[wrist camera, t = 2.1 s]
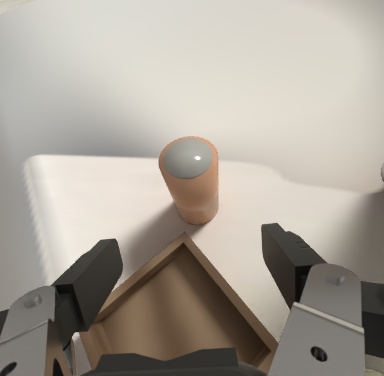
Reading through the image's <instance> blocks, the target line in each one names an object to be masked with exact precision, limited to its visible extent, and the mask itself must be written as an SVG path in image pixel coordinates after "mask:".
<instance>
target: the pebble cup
mask: <svg viewBox="0 0 384 376" xmlns="http://www.w3.org/2000/svg"><path fill="white" fill-rule="evenodd" d="M159 168H160V171H161V173H162V176H163V178H164V180H165V182H166V185H167V187H168V189H169V191H170V194H171V196H172V198H173V201H174V203H175V205H176V207H177V210H178V212H179V214H180V216H181V217H182V219H183V220H185V221H186V222H188V223H190V224H195V225H200V224H205V223H207V222H209V221H210V220H212V219H213V218H214V217H215V215H216V214H217V211H218V206H219V202H218V152H217V150H216V148H215V147H214V145H213V144H212V143H211V142H209V141H208V140H205V139H203V138H200V137H184V138H180V139H177V140H175V141H173V142H171V143H170V144H168V145H167V146H166V147H165V148H164V149H163V151H162V152H161V154H160V157H159Z"/></svg>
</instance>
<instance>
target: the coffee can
mask: <svg viewBox="0 0 384 376" xmlns="http://www.w3.org/2000/svg"><path fill="white" fill-rule="evenodd" d="M365 376H384V374H383V373H381V372H378V371H375V370H372V369H368V368H365Z"/></svg>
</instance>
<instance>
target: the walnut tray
mask: <svg viewBox="0 0 384 376" xmlns="http://www.w3.org/2000/svg"><path fill="white" fill-rule="evenodd" d="M79 334H80V337H81V340H82V342H83V345H84V348H85V351H86V353H87V356H88V359H89V362H90V364H91V367H92V370H94V369H95V368H96V366H97V364H98V362H99V359H100V357H101V355H102V354H120V353H136V354H140V355H144V356H147V357H151V358H155V359H158V360H162V361H167V360H171V359H174V358H177V357H180V356H183V355H186V354H189V353H192V352H195V351H198V350H200V349H214V348H233V347H236V353H237V359H238V361H240V362H244V363H247V364H249V365H252V366H254V367H256V368H258V369H260V370H262V371H263V372H265V373H266V374H268V373H269V370H270V367H271V364H272V362H273V359H274V356H275V353H276V350H277V348H278V345H279V344H278V342H277V341H276V340H275V339H274V338H273V336H272V335H271V334H270V333H269V332H268V331H267V329H266V328H265V327H264V326H263V325H262V323H261V322H260V321H259V320H258V319H257V317H256V316H255V315H254V314H253V313H252V311H251V310H250V309H249V308H248V307H247V305H246V304H245V303H244V302H243V301H242V299H241V298H240V297H239V296H238V295H237V294H236V292H235V291H234V290H233V289H232V288H231V286H230V285H229V284H228V283H227V282H226V280H225V279H224V278H223V277H222V276H221V274H220V273H219V272H218V271H217V270H216V268H215V267H214V266H213V265H212V264H211V262H210V261H209V260H208V259H207V258H206V257H205V255H204V254H203V253H202V252H201V251H200V249H199V248H198V247H197V246H196V245H195V243H194V242H193V241H192V240H191V239H190V237H189V236H188V235H187V234H186V233H185V232H184V233H183V234H181V235H180V236H179V237H178V238H177V239H175V240H174V241H173V242H172V243H171V244H169V245H168V246H167V247H166V248H165V249H163V250H162V251H161V252H160V253H159V254H157V255H156V256H155V257H154V258H152V259H151V260H150V261H149V262H148V263H146V264H145V265H144V266H143V267H142V268H140V269H139V270H138V271H137V272H136V273H134V274H133V275H132V276H131V277H130V278H128V279H127V280H126V281H125V282H124V283H122V284H121V285H120V286H119V287H118V288H116V289H115V290H114V291H113V292H112V293H110V295H109V296H108V298H107V300H106V301H105V303H104V305H103V307H102V308H101V310H100V312H99V313H98V315H97V317H96V318H95V320H94V322H93V323H92V325H91V327H90V329H89V330H88V332H79Z"/></svg>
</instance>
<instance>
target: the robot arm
mask: <svg viewBox="0 0 384 376" xmlns="http://www.w3.org/2000/svg"><path fill="white" fill-rule="evenodd" d="M381 176H382V180H383V182H384V164H383V166H382V168H381ZM261 232H262V252H263V258H264V261H265V264H266V266H267V267H268V269H269V271H270V273H271V275H272V277H273V279H274V281H275V282H276V284H277V286H278V288H279V290H280V292H281V294H282V296H283V298H284V299H285V301H286V303H287V305H288V307H289V309H290V314H289V317H288V320H287V322H286V325H285V328H284V331H283V334H282V336H281V339H280V342H279V345H278V348H277V350H276V353H275V356H274V359H273V362H272V364H271V367H270V370H269V373H268V374H266V373H265V372H263V371H262V370H260V369H258V368H256V367H254V366H252V365H249V364H247V363H244V362H240V361H238V359H237V353H236V347H233V348H214V349H200V350H198V351H195V352H192V353H189V354H186V355H183V356H180V357H177V358H174V359H171V360H167V361H162V360H158V359H155V358H151V357H147V356H144V355H140V354H136V353H120V354H102V355H101V357H100V359H99V362H98V364H97V366H96V368H95V369H94V370H91V371H89V372H87V373H85V374H83V375H81V376H365V354H368V355H372V356H376V357H380V358H384V284H376V283H369V282H363V281H360V279H359V278H358V277H357V276H356V275H355V274H354V273H353V272H351V271H349V270H348V269H346V268H343V267H341V266H338V265H334V264H328V263H327V262H326V261H325V260H323V259H322V258H321V257H320V256H319V255H318V254H317V253H316V252H315V251H314V250H313V249H312V248H310V246H309V245H308V244H307V243H305V241H304V240H303V239H302V238H301V237H300V236H298V235H296V234H294V233H292V232H290V231H288V232H285V231H284V230H283V229H282V227H281V226H280V225H279V224H278V223H272V224H262V227H261ZM122 270H123V263H122V259H121V254H120V250H119V246H118V242H117V240H116V239H104V240H100V241H99V242H98V243H97V244H96V245H95V246H94V247H93V248H92V249H91V250H90V251H88V252H87V253H85V254H83V255H82V256H81V257H80V258H79V259H78V260H77V261H76V262H75V263H74V264H73V265H72V266H70V269H67V270H66V271H65V272H64V273H63V274H62V275H61V276H60V277H59V278H58V279H57V280H56V281H55V282H54V283H53V284H52V285H51V286H43V287H40V288H37V289H34V290H32V291H30V292H28V293H26V294H25V295H23V296H22V297H20V298H19V299H18V300H16V301H15V302H14V303H13V304H12V306H11V307H10V309H8V310H4V311H1V312H0V376H76V365H75V353H74V343H73V340H72V336H73V335H74V333H75V332H88V330H89V329H90V327H91V325H92V323H93V322H94V320H95V318H96V317H97V315H98V313H99V312H100V310H101V308H102V307H103V305H104V303H105V301H106V300H107V298H108V296H109V295H110V293H111V291H112V290H113V288H114V286H115V285H116V283H117V281H118V279H119V278H120V276H121V274H122Z"/></svg>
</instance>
